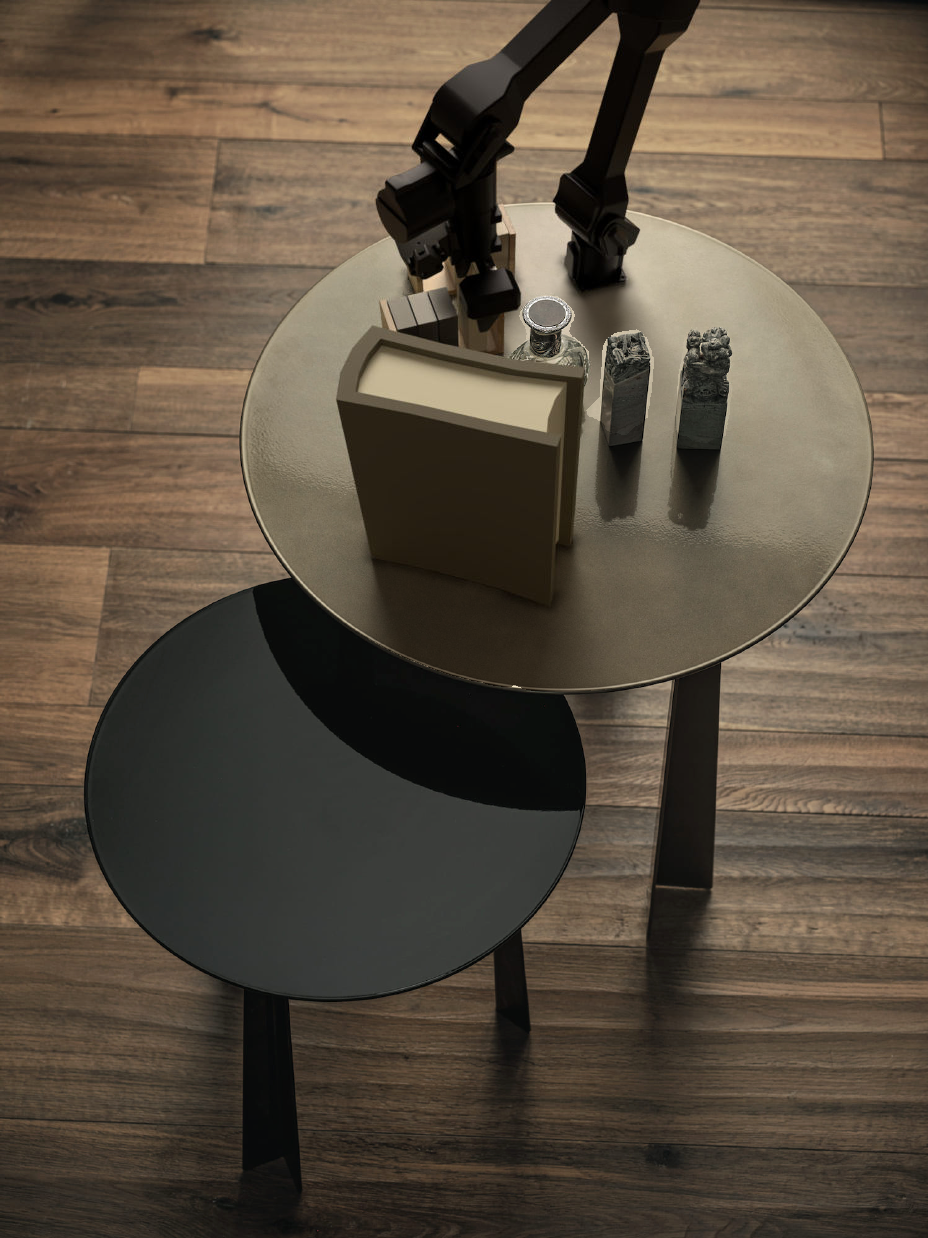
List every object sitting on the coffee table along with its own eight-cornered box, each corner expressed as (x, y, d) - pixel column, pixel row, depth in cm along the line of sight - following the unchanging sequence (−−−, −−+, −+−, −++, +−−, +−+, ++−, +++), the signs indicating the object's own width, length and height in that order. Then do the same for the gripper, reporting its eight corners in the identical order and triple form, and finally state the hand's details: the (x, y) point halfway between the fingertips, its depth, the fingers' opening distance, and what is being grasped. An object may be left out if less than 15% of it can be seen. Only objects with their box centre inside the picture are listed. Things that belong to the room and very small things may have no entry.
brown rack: (501, 251, 145) (502, 203, 138) (514, 280, 142) (516, 233, 135) (407, 272, 143) (403, 225, 136) (418, 302, 141) (414, 256, 134)
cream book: (476, 321, 138) (475, 279, 132) (487, 350, 136) (487, 309, 129) (457, 325, 138) (456, 284, 131) (469, 354, 135) (468, 313, 129)
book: (365, 558, 123) (326, 393, 99) (394, 493, 127) (363, 319, 103) (549, 606, 119) (556, 446, 94) (572, 537, 123) (585, 367, 99)
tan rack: (490, 320, 139) (491, 274, 132) (504, 352, 136) (504, 306, 130) (384, 345, 137) (378, 299, 130) (395, 378, 135) (390, 333, 128)
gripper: (376, 157, 121) (388, 264, 135) (421, 274, 113) (428, 376, 126) (473, 137, 123) (474, 245, 136) (524, 251, 114) (520, 354, 128)
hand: (472, 303), depth 132 cm, fingers open, 9 cm apart
